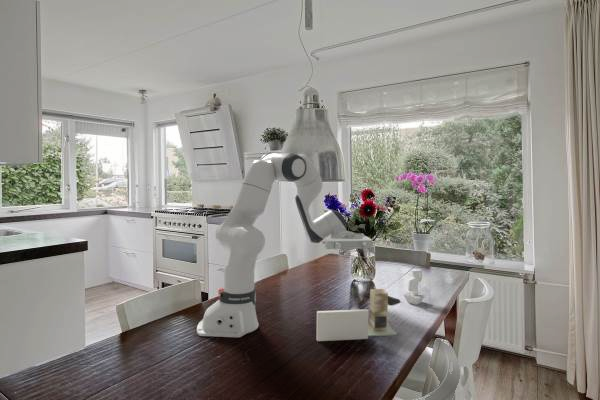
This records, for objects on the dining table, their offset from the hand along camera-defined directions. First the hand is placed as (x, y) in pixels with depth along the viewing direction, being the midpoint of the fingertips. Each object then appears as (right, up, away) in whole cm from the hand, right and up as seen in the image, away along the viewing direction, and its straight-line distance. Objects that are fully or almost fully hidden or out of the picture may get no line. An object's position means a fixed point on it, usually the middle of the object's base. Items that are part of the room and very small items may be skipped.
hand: (352, 247), depth 145 cm
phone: (+16, -27, +21) cm, 38 cm away
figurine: (+30, -27, +17) cm, 44 cm away
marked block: (+7, -28, -12) cm, 32 cm away
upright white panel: (-7, -29, -20) cm, 36 cm away
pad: (+7, -29, -12) cm, 32 cm away
